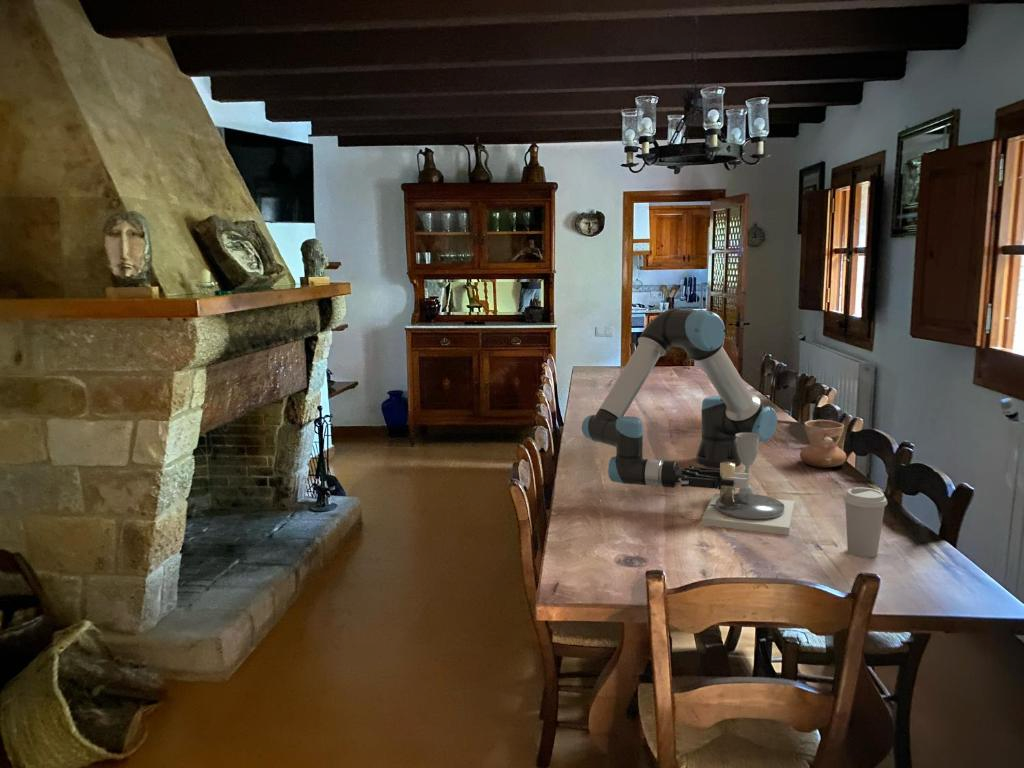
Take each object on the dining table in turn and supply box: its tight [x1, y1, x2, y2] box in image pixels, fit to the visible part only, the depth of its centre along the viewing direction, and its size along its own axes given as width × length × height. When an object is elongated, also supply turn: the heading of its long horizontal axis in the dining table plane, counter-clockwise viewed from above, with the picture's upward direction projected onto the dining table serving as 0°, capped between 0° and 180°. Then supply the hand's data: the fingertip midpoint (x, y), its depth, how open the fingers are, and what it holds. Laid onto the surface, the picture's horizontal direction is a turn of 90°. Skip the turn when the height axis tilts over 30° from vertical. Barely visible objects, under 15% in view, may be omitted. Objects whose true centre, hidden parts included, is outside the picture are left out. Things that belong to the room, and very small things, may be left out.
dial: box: [716, 462, 784, 520], centre depth 206 cm, size 18×18×12 cm
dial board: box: [701, 492, 796, 536], centre depth 207 cm, size 22×22×2 cm
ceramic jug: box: [799, 419, 847, 469], centre depth 252 cm, size 18×14×14 cm
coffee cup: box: [842, 486, 888, 559], centre depth 179 cm, size 10×10×15 cm
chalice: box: [736, 432, 760, 494], centre depth 225 cm, size 7×7×18 cm
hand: (747, 481), depth 206 cm, fingers closed on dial, 4 cm apart
